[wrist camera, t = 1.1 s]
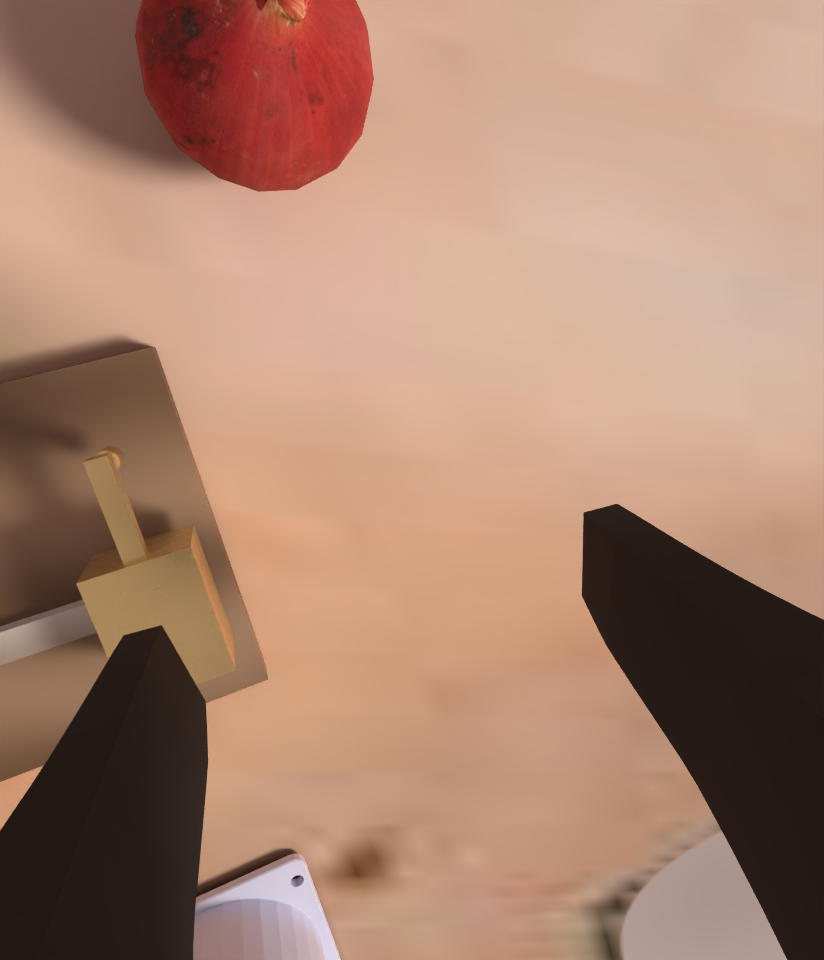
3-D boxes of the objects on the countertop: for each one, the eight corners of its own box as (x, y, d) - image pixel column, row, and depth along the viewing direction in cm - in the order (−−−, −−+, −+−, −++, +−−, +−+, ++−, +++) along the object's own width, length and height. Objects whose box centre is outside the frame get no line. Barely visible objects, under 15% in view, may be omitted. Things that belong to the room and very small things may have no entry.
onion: (173, 222, 19) (145, 135, 12) (133, 12, 18) (75, -235, 10) (353, 212, 21) (430, 130, 13) (329, 18, 19) (400, -193, 12)
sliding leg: (233, 634, 20) (235, 670, 18) (140, 667, 20) (129, 710, 17) (160, 431, 18) (152, 442, 16) (54, 459, 18) (30, 475, 15)
